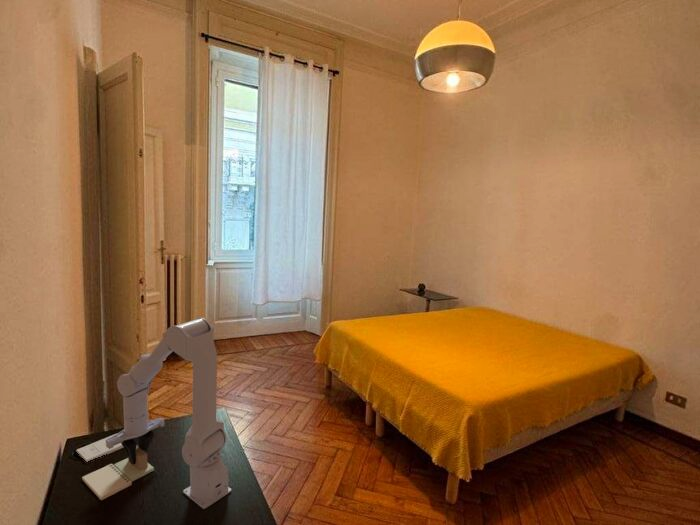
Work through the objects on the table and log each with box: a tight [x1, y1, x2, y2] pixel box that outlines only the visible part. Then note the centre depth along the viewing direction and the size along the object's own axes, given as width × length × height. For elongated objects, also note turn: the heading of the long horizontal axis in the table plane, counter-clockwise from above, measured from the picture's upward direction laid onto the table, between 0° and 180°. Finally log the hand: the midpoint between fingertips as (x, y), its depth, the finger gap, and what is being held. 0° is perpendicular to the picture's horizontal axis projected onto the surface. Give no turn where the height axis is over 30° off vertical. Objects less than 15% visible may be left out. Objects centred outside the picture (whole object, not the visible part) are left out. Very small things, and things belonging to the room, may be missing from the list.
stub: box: [113, 445, 155, 483], centre depth 103 cm, size 10×6×5 cm, turn 54°
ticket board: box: [81, 463, 132, 501], centre depth 98 cm, size 12×7×1 cm, turn 54°
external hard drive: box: [75, 433, 125, 463], centre depth 113 cm, size 2×8×12 cm
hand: (137, 460), depth 104 cm, fingers closed on stub, 2 cm apart
